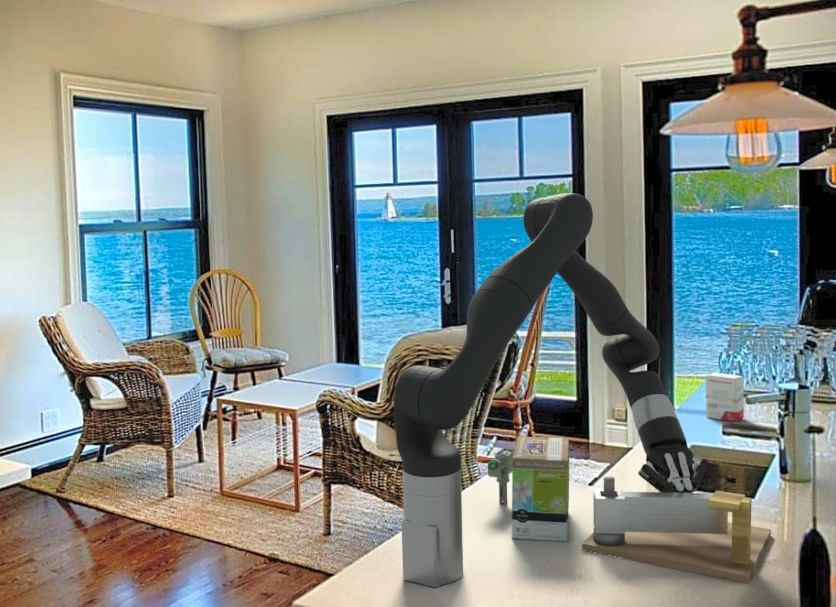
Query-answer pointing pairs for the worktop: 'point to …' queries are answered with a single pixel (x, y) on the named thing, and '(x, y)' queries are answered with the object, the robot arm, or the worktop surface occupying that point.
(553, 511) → the tea box
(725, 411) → the ink box
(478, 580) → the worktop surface
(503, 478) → the mechanical component
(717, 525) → the link
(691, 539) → the latch board
